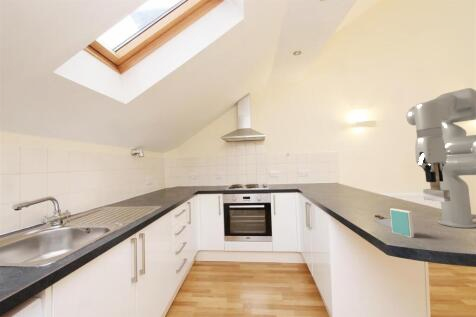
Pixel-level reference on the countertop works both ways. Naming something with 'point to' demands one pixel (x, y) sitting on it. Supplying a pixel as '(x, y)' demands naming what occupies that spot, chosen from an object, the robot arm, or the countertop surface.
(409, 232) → the tile
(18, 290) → the countertop surface
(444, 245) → the countertop surface
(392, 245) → the countertop surface
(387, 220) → the kitchen cleaver
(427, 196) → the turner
